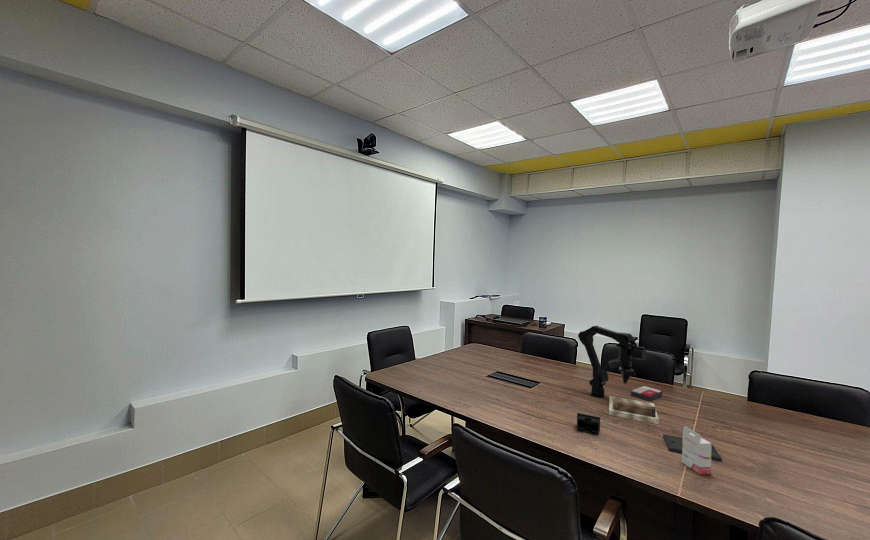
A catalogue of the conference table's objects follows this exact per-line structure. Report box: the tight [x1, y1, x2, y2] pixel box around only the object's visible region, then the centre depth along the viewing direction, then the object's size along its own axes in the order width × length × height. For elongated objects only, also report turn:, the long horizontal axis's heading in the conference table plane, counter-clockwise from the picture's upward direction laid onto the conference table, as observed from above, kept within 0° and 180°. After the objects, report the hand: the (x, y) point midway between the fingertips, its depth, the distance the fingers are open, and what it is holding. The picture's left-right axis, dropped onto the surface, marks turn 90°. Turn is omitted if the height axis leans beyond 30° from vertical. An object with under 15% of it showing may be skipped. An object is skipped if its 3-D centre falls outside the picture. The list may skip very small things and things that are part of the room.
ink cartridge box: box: [681, 425, 713, 475], centre depth 132 cm, size 9×5×15 cm, turn 5°
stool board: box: [608, 395, 660, 425], centre depth 184 cm, size 22×23×3 cm
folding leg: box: [613, 398, 657, 417], centre depth 177 cm, size 19×4×5 cm, turn 62°
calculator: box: [630, 385, 663, 403], centre depth 207 cm, size 11×4×15 cm
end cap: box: [576, 412, 601, 436], centre depth 162 cm, size 10×7×7 cm
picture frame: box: [662, 433, 723, 463], centre depth 147 cm, size 13×2×18 cm
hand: (624, 383), depth 193 cm, fingers closed
